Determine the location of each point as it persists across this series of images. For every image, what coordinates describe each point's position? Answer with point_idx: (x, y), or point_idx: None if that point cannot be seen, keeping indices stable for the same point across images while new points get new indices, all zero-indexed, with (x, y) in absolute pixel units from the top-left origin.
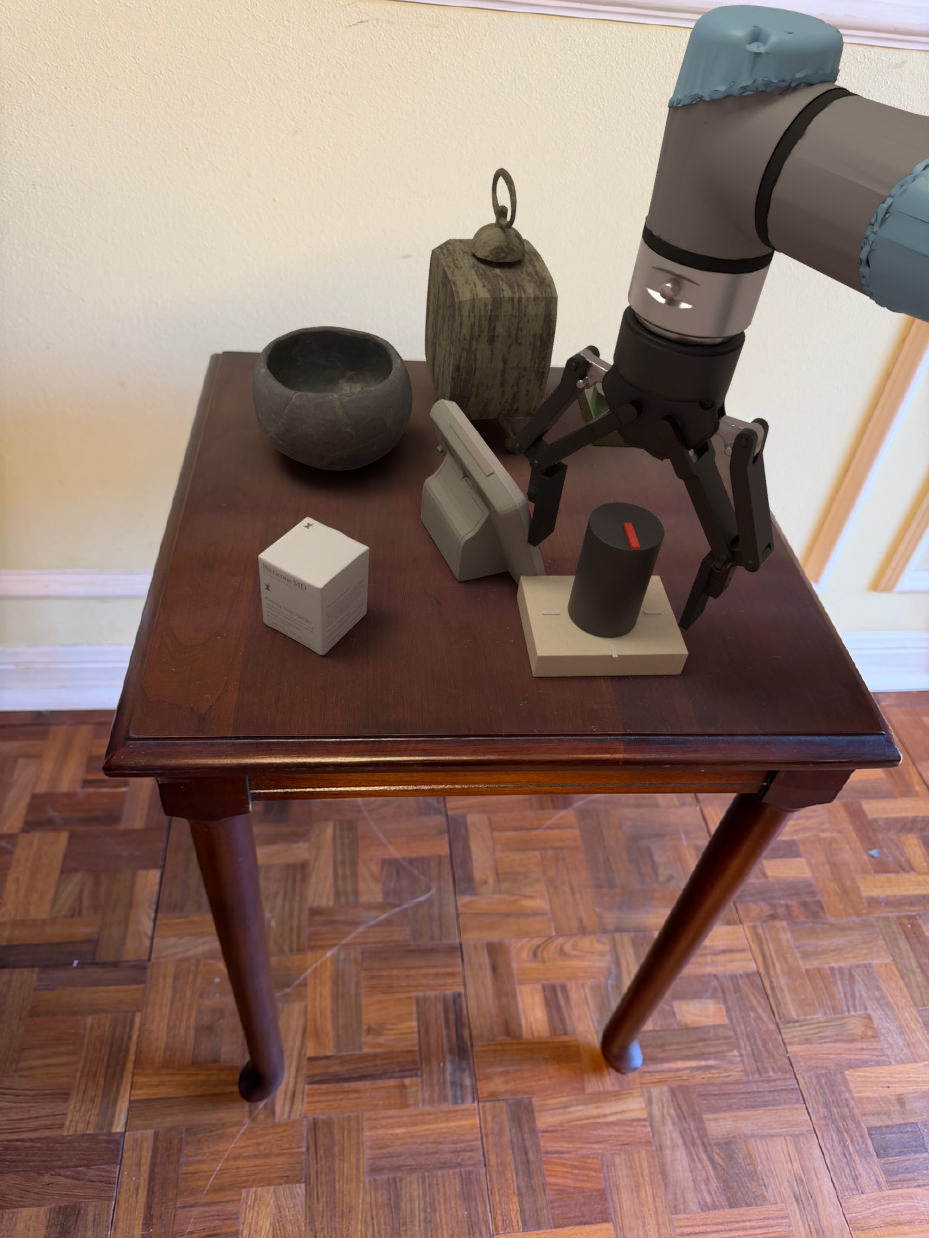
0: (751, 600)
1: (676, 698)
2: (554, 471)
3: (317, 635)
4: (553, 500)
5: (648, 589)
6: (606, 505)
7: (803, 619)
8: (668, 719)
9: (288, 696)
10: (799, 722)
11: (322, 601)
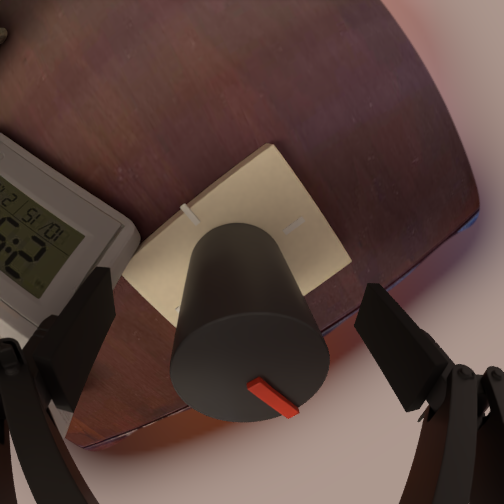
0: (373, 81)
1: (342, 277)
2: (56, 390)
3: None
4: (85, 336)
5: (271, 184)
6: (181, 354)
7: (423, 88)
8: (341, 303)
9: (98, 416)
10: (438, 233)
11: (65, 433)
